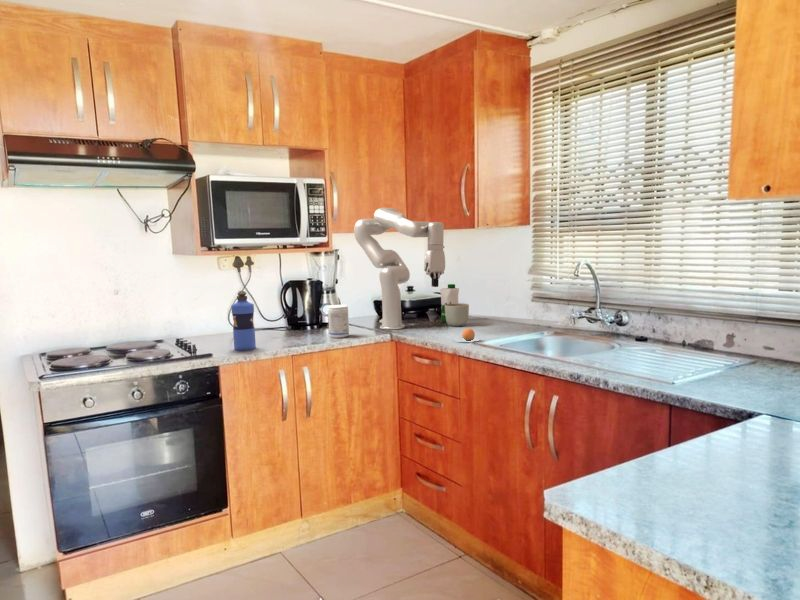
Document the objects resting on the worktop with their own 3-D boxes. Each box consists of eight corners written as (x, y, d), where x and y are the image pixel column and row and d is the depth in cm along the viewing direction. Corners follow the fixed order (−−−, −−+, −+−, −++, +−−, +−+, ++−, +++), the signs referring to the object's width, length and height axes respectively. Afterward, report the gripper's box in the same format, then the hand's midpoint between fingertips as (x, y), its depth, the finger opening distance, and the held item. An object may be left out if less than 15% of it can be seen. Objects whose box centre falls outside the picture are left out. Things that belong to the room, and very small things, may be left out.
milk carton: (461, 320, 309) (460, 284, 307) (451, 323, 302) (451, 285, 300) (448, 319, 315) (447, 283, 313) (438, 321, 308) (437, 285, 306)
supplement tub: (330, 335, 275) (329, 304, 273) (350, 334, 275) (348, 304, 273) (327, 338, 265) (326, 307, 264) (348, 338, 265) (346, 306, 263)
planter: (461, 328, 285) (460, 306, 284) (440, 326, 292) (440, 305, 291) (473, 324, 295) (473, 303, 294) (453, 323, 302) (452, 302, 301)
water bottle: (234, 351, 239) (231, 292, 237) (232, 347, 248) (229, 290, 245) (257, 349, 243) (254, 291, 240) (254, 345, 251) (251, 289, 249)
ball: (464, 326, 246) (470, 336, 244) (473, 325, 250) (479, 335, 247) (457, 334, 250) (463, 344, 247) (466, 332, 253) (472, 342, 251)
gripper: (441, 247, 277) (441, 285, 280) (418, 248, 268) (417, 286, 270) (452, 248, 271) (451, 286, 274) (428, 248, 262) (428, 288, 265)
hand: (434, 286), depth 272 cm, fingers closed
